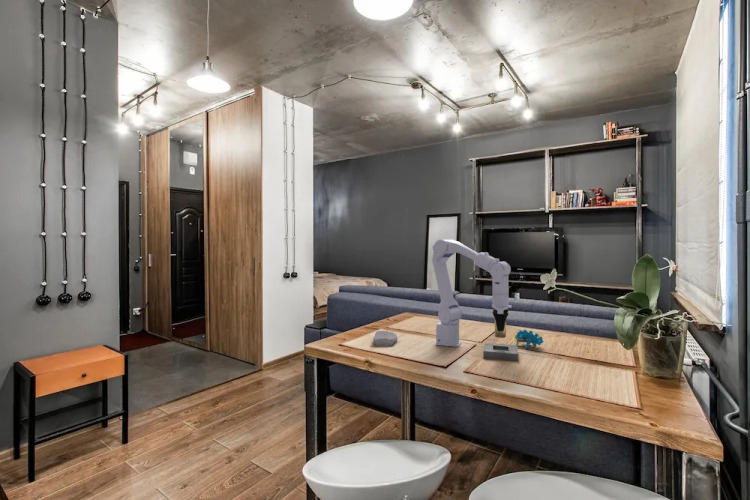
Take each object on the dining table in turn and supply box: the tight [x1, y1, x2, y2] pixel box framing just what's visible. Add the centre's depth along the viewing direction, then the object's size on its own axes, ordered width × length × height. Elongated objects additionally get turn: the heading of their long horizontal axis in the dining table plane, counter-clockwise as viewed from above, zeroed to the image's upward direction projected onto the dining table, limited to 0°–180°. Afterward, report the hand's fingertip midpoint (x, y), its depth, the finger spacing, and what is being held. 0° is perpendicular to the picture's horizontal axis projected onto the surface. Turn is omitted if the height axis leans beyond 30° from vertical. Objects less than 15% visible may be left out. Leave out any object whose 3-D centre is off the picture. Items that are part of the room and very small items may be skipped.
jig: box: [482, 342, 519, 362], centre depth 136 cm, size 12×12×2 cm
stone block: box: [372, 330, 398, 347], centre depth 155 cm, size 12×5×10 cm
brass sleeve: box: [494, 320, 507, 339], centre depth 136 cm, size 4×4×7 cm
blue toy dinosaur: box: [514, 329, 544, 350], centre depth 145 cm, size 11×6×10 cm
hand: (500, 329), depth 136 cm, fingers closed on brass sleeve, 4 cm apart
